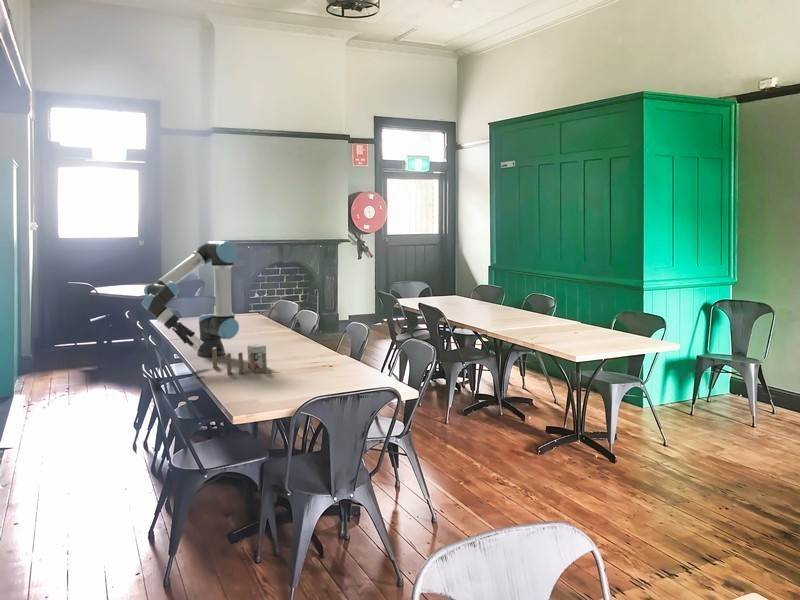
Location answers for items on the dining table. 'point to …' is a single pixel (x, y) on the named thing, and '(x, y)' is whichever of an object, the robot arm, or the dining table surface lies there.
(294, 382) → the dining table surface
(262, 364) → the domino
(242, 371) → the domino
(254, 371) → the domino
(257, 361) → the ink box
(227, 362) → the domino
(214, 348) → the head domino
